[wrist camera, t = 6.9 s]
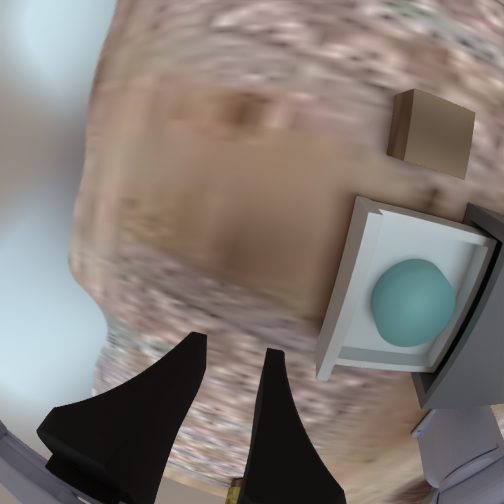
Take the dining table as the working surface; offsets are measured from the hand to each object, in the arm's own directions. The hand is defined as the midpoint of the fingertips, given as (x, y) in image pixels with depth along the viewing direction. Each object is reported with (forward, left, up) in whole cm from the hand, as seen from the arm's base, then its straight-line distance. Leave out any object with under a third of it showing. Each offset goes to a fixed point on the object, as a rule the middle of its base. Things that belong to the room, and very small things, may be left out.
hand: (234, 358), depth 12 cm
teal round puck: (0, -10, -8) cm, 13 cm away
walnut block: (+10, -8, -10) cm, 17 cm away
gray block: (0, -19, -10) cm, 21 cm away
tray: (0, -10, -9) cm, 13 cm away
